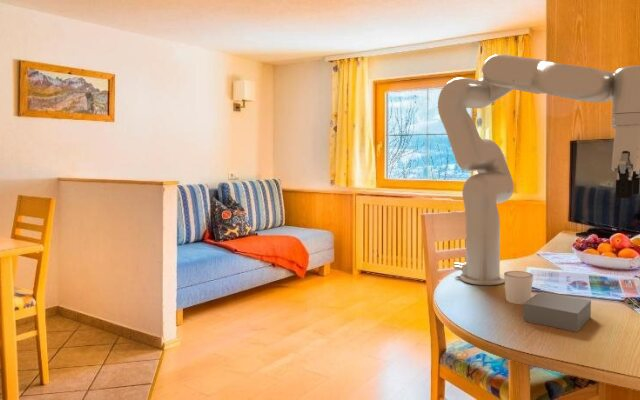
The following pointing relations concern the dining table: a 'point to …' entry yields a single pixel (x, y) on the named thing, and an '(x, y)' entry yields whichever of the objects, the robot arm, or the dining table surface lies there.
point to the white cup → (518, 286)
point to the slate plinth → (557, 311)
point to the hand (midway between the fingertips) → (627, 195)
